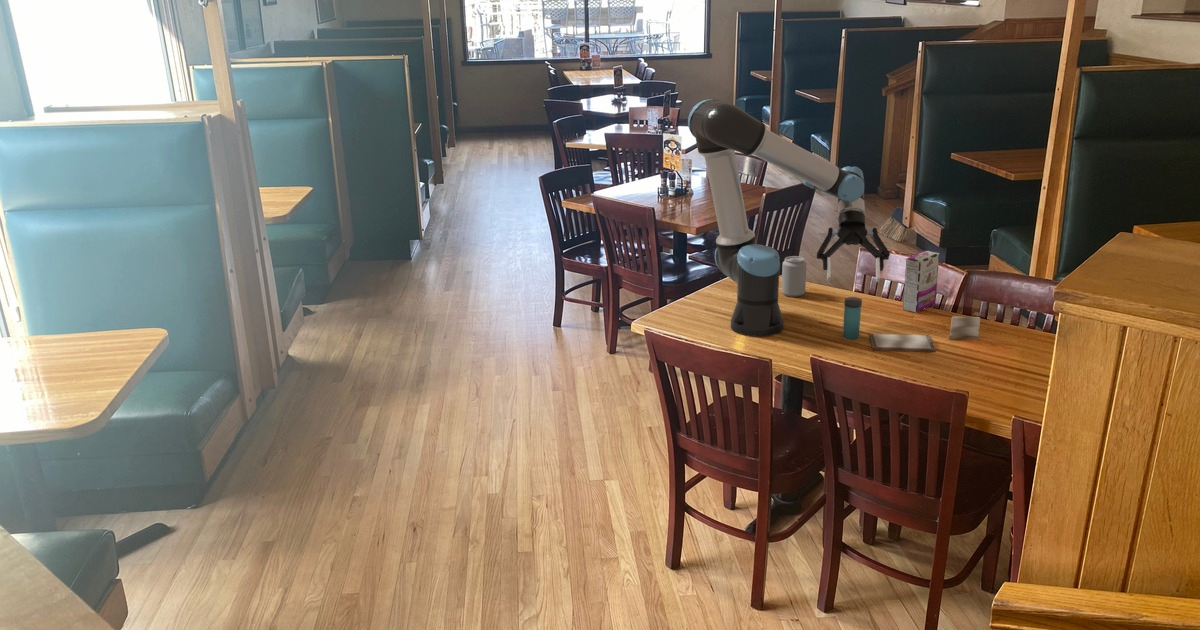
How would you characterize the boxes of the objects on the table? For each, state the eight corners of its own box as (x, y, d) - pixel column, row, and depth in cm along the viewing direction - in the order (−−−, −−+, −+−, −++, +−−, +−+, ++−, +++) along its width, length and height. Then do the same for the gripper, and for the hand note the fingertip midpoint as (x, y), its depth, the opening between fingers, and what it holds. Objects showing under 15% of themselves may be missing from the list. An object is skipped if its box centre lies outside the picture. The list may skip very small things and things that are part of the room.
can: (781, 297, 278) (783, 261, 274) (781, 290, 285) (782, 254, 281) (805, 297, 276) (807, 261, 272) (804, 290, 283) (806, 255, 279)
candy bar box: (920, 301, 270) (925, 250, 264) (935, 304, 266) (940, 252, 260) (901, 309, 263) (905, 257, 257) (916, 313, 259) (921, 260, 254)
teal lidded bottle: (842, 339, 242) (845, 302, 238) (841, 333, 246) (844, 296, 242) (860, 340, 241) (862, 302, 237) (858, 334, 245) (861, 297, 242)
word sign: (948, 339, 239) (951, 317, 237) (947, 337, 240) (950, 315, 238) (979, 340, 237) (982, 318, 235) (978, 338, 239) (981, 316, 237)
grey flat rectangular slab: (872, 350, 234) (873, 344, 233) (868, 335, 244) (869, 330, 243) (935, 352, 231) (936, 346, 230) (928, 337, 241) (929, 331, 240)
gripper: (893, 222, 258) (897, 286, 249) (807, 222, 262) (807, 284, 254) (897, 209, 251) (901, 274, 242) (809, 208, 256) (809, 273, 247)
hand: (853, 279), depth 248 cm, fingers open, 13 cm apart
